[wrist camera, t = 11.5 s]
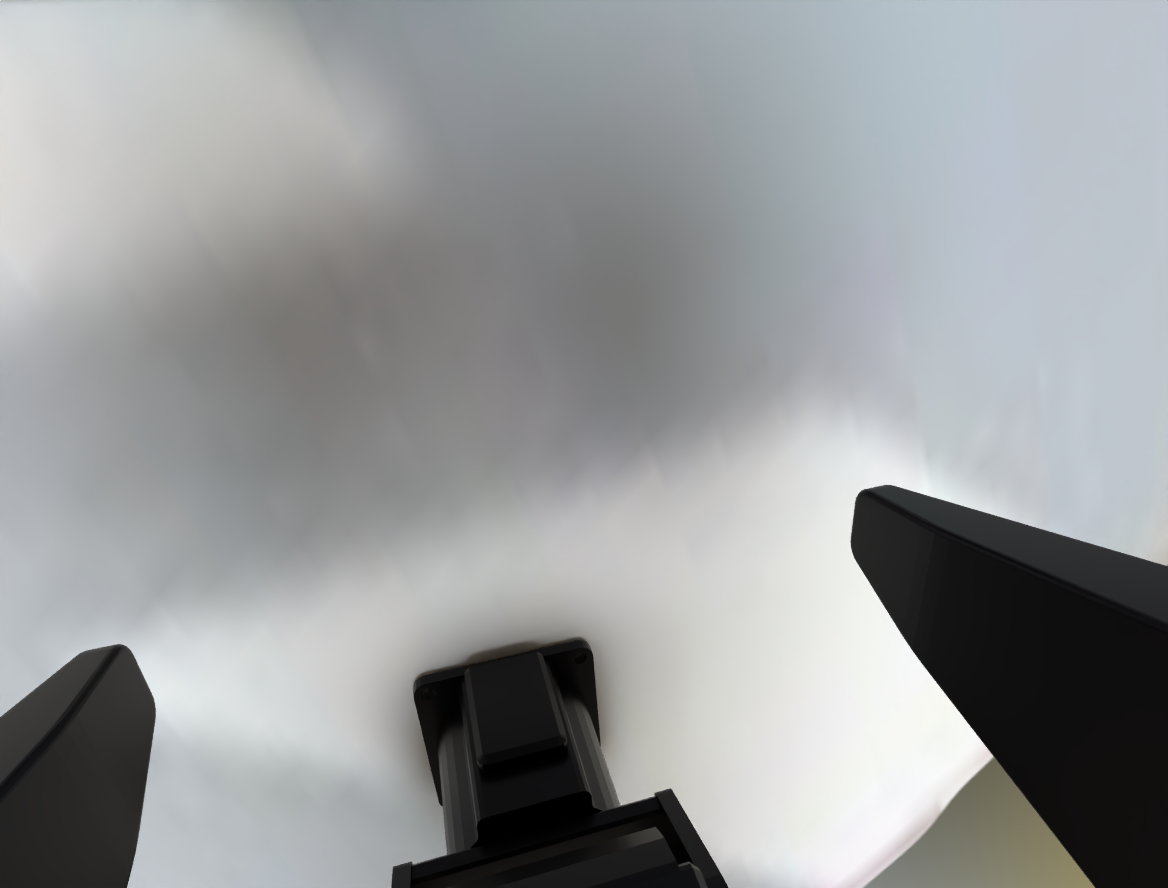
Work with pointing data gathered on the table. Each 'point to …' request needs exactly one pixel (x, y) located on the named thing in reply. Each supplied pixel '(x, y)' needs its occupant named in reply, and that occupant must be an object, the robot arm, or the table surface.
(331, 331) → the table surface
